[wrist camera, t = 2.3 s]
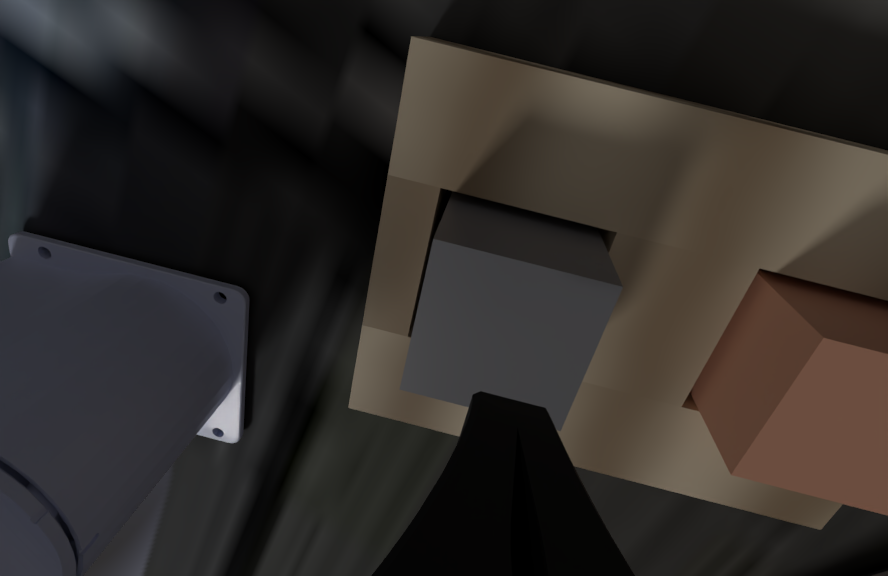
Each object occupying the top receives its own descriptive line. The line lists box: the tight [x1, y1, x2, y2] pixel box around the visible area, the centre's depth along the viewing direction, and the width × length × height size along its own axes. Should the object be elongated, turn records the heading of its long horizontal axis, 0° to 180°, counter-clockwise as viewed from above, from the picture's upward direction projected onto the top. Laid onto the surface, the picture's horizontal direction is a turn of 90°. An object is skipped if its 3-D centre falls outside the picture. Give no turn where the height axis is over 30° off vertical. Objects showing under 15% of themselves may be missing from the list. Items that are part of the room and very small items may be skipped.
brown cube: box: [690, 269, 888, 515], centre depth 14 cm, size 4×4×4 cm
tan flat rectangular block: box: [348, 36, 888, 530], centre depth 16 cm, size 17×12×3 cm
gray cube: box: [399, 191, 623, 431], centre depth 14 cm, size 4×4×4 cm
